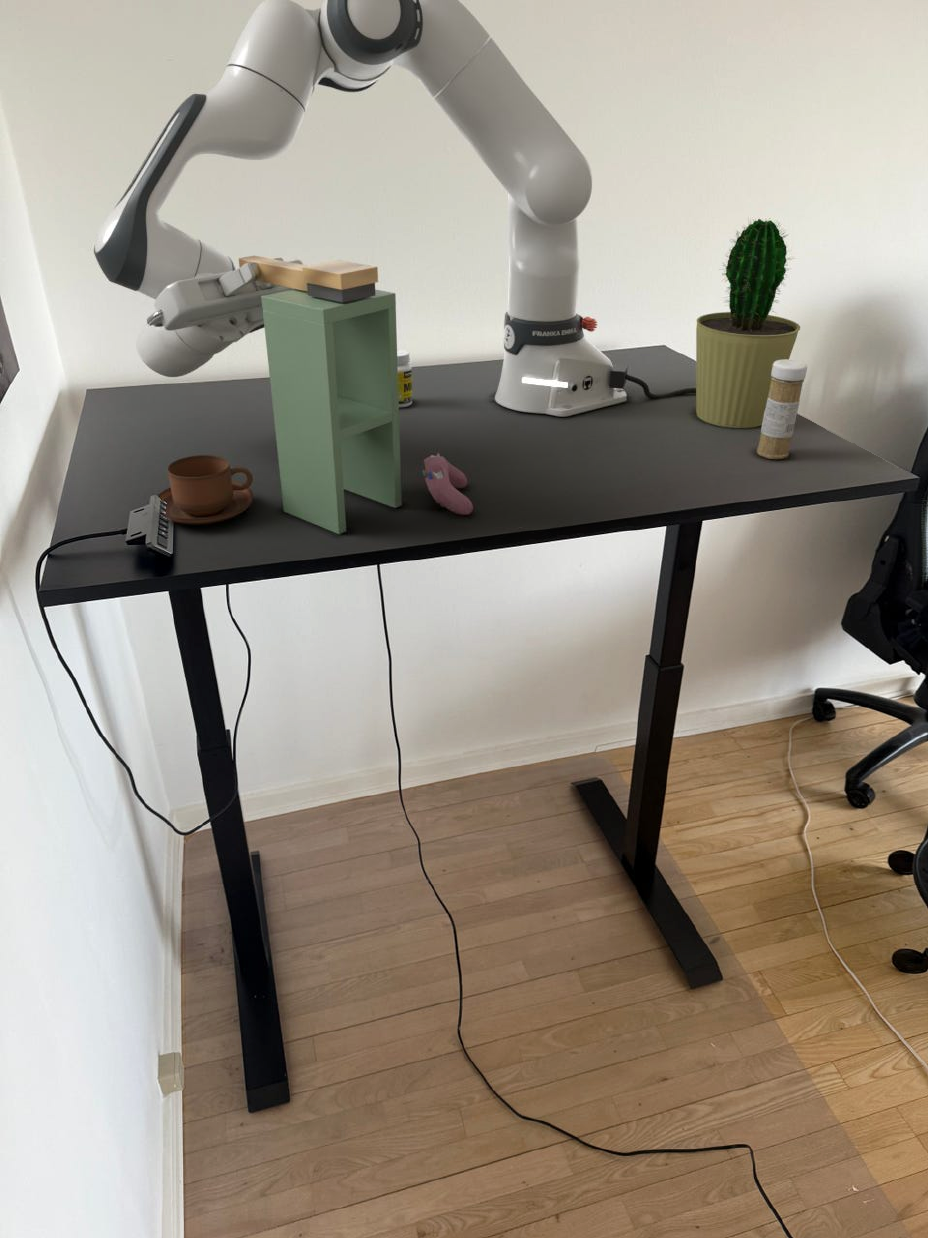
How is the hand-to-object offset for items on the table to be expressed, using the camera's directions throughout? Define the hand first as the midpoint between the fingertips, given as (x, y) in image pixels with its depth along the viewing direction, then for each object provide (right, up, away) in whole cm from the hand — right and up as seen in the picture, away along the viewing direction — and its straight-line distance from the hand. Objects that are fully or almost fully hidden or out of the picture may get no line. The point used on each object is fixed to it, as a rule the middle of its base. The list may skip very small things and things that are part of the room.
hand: (267, 266), depth 104 cm
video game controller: (+21, -26, +11) cm, 35 cm away
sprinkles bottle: (+68, -17, +26) cm, 75 cm away
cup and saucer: (-9, -28, +8) cm, 30 cm away
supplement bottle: (+12, -5, +45) cm, 47 cm away
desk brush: (+4, -3, -2) cm, 6 cm away
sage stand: (+8, -27, +9) cm, 30 cm away
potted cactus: (+66, -8, +41) cm, 78 cm away
